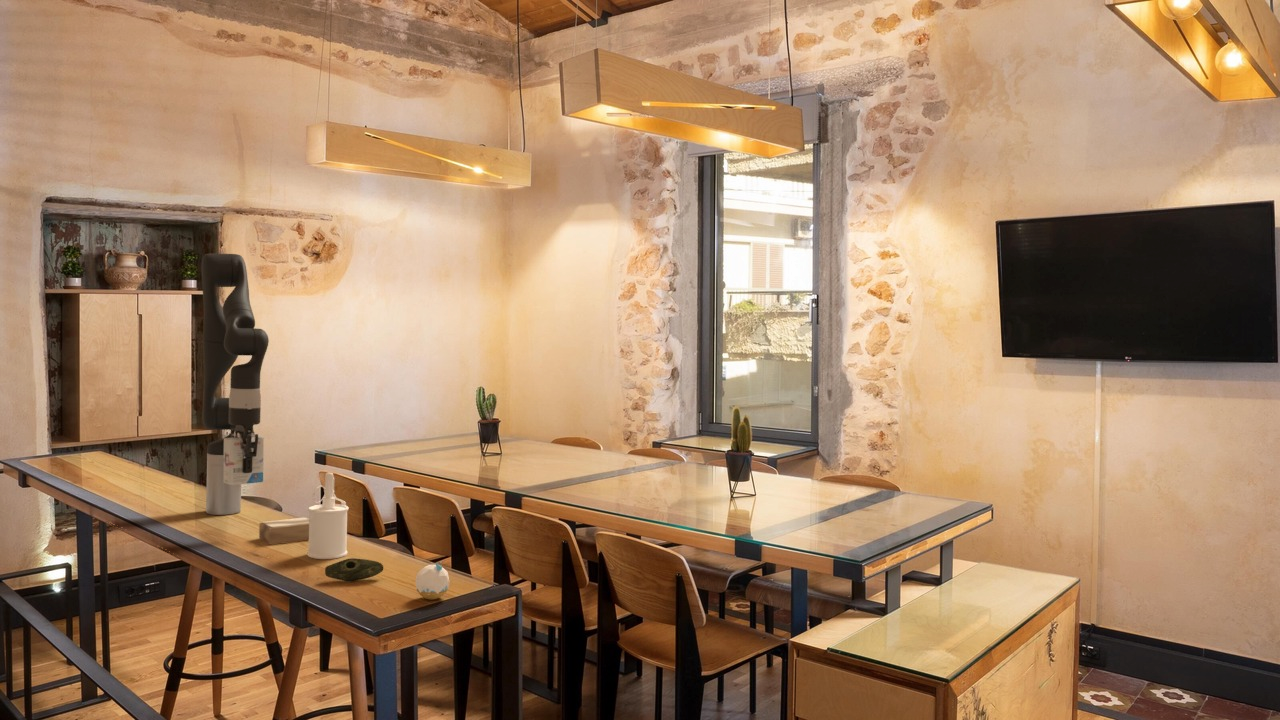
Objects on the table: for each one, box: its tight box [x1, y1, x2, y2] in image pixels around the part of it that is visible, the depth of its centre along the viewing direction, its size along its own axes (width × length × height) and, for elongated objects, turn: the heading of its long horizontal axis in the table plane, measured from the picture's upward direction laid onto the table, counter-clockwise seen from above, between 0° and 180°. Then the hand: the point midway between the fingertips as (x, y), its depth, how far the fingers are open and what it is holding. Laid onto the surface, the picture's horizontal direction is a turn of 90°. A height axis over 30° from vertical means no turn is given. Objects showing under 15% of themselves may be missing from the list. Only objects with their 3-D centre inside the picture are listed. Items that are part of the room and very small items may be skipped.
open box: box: [258, 516, 309, 545], centre depth 241 cm, size 8×12×4 cm, turn 131°
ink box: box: [223, 436, 265, 485], centre depth 241 cm, size 9×5×12 cm, turn 135°
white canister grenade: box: [307, 471, 350, 560], centre depth 227 cm, size 10×9×20 cm
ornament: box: [415, 561, 451, 601], centre depth 193 cm, size 7×7×8 cm
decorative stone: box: [324, 558, 384, 583], centre depth 205 cm, size 11×8×5 cm
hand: (243, 470), depth 241 cm, fingers closed on ink box, 5 cm apart
